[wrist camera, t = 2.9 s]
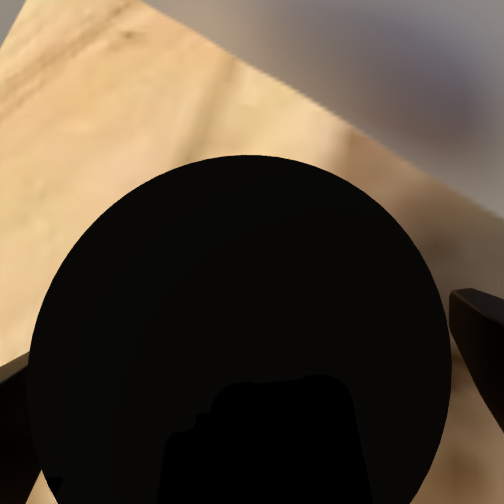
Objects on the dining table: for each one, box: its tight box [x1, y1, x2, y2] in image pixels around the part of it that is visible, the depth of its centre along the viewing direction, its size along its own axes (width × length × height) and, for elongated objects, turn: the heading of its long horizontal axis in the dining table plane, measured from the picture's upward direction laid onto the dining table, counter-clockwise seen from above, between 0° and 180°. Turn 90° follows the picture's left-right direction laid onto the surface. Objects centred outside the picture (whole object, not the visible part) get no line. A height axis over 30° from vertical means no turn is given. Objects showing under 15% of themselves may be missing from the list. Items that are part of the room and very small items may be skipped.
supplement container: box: [27, 155, 452, 504], centre depth 11 cm, size 7×7×10 cm
